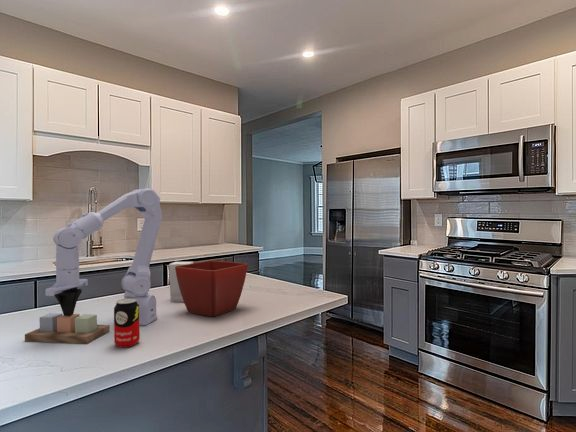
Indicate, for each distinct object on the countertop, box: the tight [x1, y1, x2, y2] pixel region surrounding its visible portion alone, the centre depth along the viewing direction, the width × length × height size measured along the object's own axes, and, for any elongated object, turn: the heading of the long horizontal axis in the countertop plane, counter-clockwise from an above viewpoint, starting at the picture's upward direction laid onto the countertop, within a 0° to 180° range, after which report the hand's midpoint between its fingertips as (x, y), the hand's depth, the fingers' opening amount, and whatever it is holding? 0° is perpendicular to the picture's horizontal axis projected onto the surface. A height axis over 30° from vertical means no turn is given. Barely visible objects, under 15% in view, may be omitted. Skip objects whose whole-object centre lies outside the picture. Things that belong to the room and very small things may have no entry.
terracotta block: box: [57, 313, 81, 333], centre depth 104 cm, size 4×4×4 cm
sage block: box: [75, 313, 98, 333], centre depth 104 cm, size 4×4×4 cm
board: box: [24, 324, 111, 345], centre depth 104 cm, size 19×10×2 cm, turn 84°
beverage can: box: [113, 298, 141, 348], centre depth 98 cm, size 6×6×12 cm
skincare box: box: [168, 261, 194, 303], centre depth 145 cm, size 8×7×16 cm
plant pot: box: [175, 260, 248, 317], centre depth 130 cm, size 19×19×17 cm
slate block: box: [39, 312, 63, 332], centre depth 105 cm, size 4×4×4 cm
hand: (68, 315), depth 104 cm, fingers closed
